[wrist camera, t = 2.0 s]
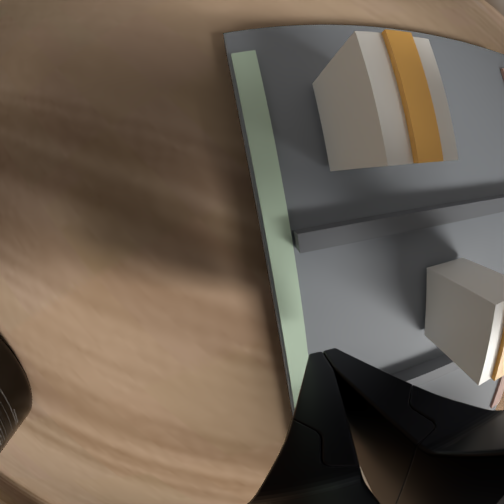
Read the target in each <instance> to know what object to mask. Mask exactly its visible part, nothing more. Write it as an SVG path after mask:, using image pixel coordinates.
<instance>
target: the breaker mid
mask: <svg viewBox="0 0 504 504" xmlns="http://www.w3.org/2000/svg"><path fill="white" fill-rule="evenodd" d="M424 335H425V336H426V337H427V338H428V339H429V340H430V341H432V342H433V343H434V344H435V345H436V346H437V347H438V348H439V349H440V350H441V351H442V352H444V353H445V354H446V355H447V356H448V357H449V358H450V359H451V360H452V361H453V362H454V363H455V364H456V365H457V366H459V367H460V368H461V369H462V370H463V371H464V372H465V373H466V374H467V375H468V376H469V377H470V378H471V379H472V380H473V381H474V382H475V383H476V384H477V385H478V386H479V385H481V384H482V383H484V382H486V381H488V380H489V379H493V380H494V381H496V380H497V379H499V378H500V377H502V376H503V375H504V275H503V274H501V273H498V272H496V271H494V270H491V269H489V268H487V267H484V266H482V265H480V264H477V263H475V262H472V261H470V260H468V259H465V258H459V259H456V260H452V261H449V262H445V263H442V264H438V265H435V266H431V267H427V290H426V315H425V330H424Z"/></svg>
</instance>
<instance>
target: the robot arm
mask: <svg viewBox="0 0 504 504" xmlns="http://www.w3.org/2000/svg"><path fill="white" fill-rule="evenodd" d="M360 467H361V469H362V471H363V474H364V476H365V478H366V480H367V482H368V484H369V486H370V489H371V490H370V489H369V488H368V486H367V485H366V483H365V482H364V479H363V476H362V473H361V469H360ZM371 491H372V492H371ZM248 504H504V410H498V411H496V410H488V409H484V408H480V407H476V406H473V405H469V404H466V403H462V402H459V401H455V400H452V399H449V398H446V397H443V396H440V395H437V394H434V393H432V392H429V391H427V390H424V389H422V388H420V387H418V386H415V385H413V386H412V384H411V383H408V382H406V381H404V380H402V379H400V378H397V377H395V376H393V375H391V374H389V373H387V372H384V371H382V370H380V369H378V368H376V367H374V366H372V365H370V364H368V363H365V362H363V361H361V360H359V359H357V358H355V357H353V356H351V355H349V354H347V353H345V352H343V351H341V350H339V349H337V348H332V349H328V350H324V351H323V352H316V353H311V354H309V356H308V360H307V364H306V369H305V373H304V377H303V381H302V384H301V388H300V392H299V396H298V400H297V403H296V407H295V411H294V414H293V418H292V421H291V424H290V427H289V431H288V434H287V436H286V439H285V442H284V444H283V446H282V449H281V451H280V453H279V455H278V457H277V459H276V461H275V462H274V464H273V466H272V468H271V470H270V471H269V473H268V475H267V477H266V479H265V480H264V482H263V484H262V485H261V487H260V489H259V490H258V492H257V493H256V495H255V496H254V497H253V499H252V500H251V501H250V502H249V503H248Z"/></svg>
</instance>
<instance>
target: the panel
mask: <svg viewBox="0 0 504 504" xmlns="http://www.w3.org/2000/svg"><path fill="white" fill-rule="evenodd" d="M385 29H388V30H397V31H404V32H411V33H412V36H413V37H420V38H426V39H429V42H430V45H431V48H432V50H433V53H434V56H435V59H436V63H437V66H438V69H439V72H440V76H441V79H442V83H443V86H444V90H445V94H446V98H447V102H448V106H449V111H450V115H451V120H452V125H453V130H454V135H455V141H456V147H457V153H458V160H452V161H439V162H427V163H413V164H403V165H393V166H382V167H370V168H359V169H348V170H339V171H330V167H329V162H328V156H327V151H326V145H325V140H324V135H323V130H322V125H321V120H320V116H319V111H318V107H317V102H316V98H315V93H314V89H313V85H312V84H313V82H314V81H315V80H316V78H317V77H318V76H319V75H320V73H321V72H322V71H323V70H324V68H325V67H326V66H327V64H328V63H329V62H330V61H331V59H332V58H333V57H334V56H335V55H336V53H337V52H338V51H339V50H340V48H341V47H342V46H343V45H344V43H345V42H346V41H347V40H348V39H349V37H350V36H351V35H352V34H353V33H354V31H366V32H379V33H382V32H383V31H384V30H385ZM223 34H224V44H225V49H226V54H227V59H228V64H229V69H230V74H231V79H232V84H233V89H234V94H235V99H236V104H237V109H238V115H239V120H240V125H241V130H242V135H243V140H244V146H245V151H246V156H247V161H248V167H249V172H250V177H251V182H252V188H253V193H254V198H255V204H256V209H257V215H258V220H259V226H260V231H261V236H262V242H263V247H264V253H265V259H266V264H267V270H268V275H269V281H270V287H271V292H272V298H273V304H274V309H275V315H276V321H277V327H278V332H279V338H280V344H281V350H282V356H283V362H284V368H285V374H286V379H287V385H288V392H289V398H290V404H291V410H292V416H293V414H294V411H295V407H296V403H297V400H298V396H299V392H300V388H301V384H302V381H303V377H304V373H305V369H306V364H307V360H308V356H309V354H311V353H316V352H323V351H324V350H328V349H332V348H337V349H339V350H341V351H343V352H345V353H347V354H349V355H351V356H353V357H355V358H357V359H359V360H361V361H363V362H365V363H368V364H370V365H372V366H374V367H376V368H378V369H380V370H382V371H384V372H387V373H389V374H391V375H393V376H395V377H397V378H400V379H402V380H404V381H406V382H408V383H411V384H412V386H413V385H415V386H418V387H420V388H422V389H424V390H427V391H429V392H432V393H434V394H437V395H440V396H443V397H446V398H449V399H452V400H455V401H459V402H462V403H466V404H469V405H473V406H476V407H480V408H484V409H488V410H495V409H496V406H497V404H499V402H500V399H501V397H502V394H503V391H504V375H503V376H502V377H500V378H499V379H497V380H496V381H494V380H493V379H489V380H488V381H486V382H484V383H482V384H481V385H479V386H478V385H477V384H476V383H475V382H474V381H473V380H472V379H471V378H470V377H469V376H468V375H467V374H466V373H465V372H464V371H463V370H462V369H461V368H460V367H459V366H457V365H456V364H455V363H454V362H453V361H452V360H451V359H450V358H449V357H448V356H447V355H446V354H445V353H444V352H442V351H441V350H440V349H439V348H438V347H437V346H436V345H435V344H434V343H433V342H432V341H430V340H429V339H428V338H427V337H426V336H425V335H424V330H425V315H426V290H427V267H431V266H435V265H438V264H442V263H445V262H449V261H452V260H456V259H459V258H465V259H468V260H470V261H472V262H475V263H477V264H480V265H482V266H484V267H487V268H489V269H491V270H494V271H496V272H498V273H501V274H503V275H504V54H501V53H498V52H495V51H492V50H489V49H486V48H483V47H479V46H476V45H472V44H469V43H465V42H461V41H457V40H453V39H449V38H444V37H440V36H435V35H430V34H424V33H418V32H412V31H406V30H398V29H390V28H381V27H369V26H354V25H295V26H279V27H267V28H258V29H249V30H242V31H235V32H228V33H223Z"/></svg>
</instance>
